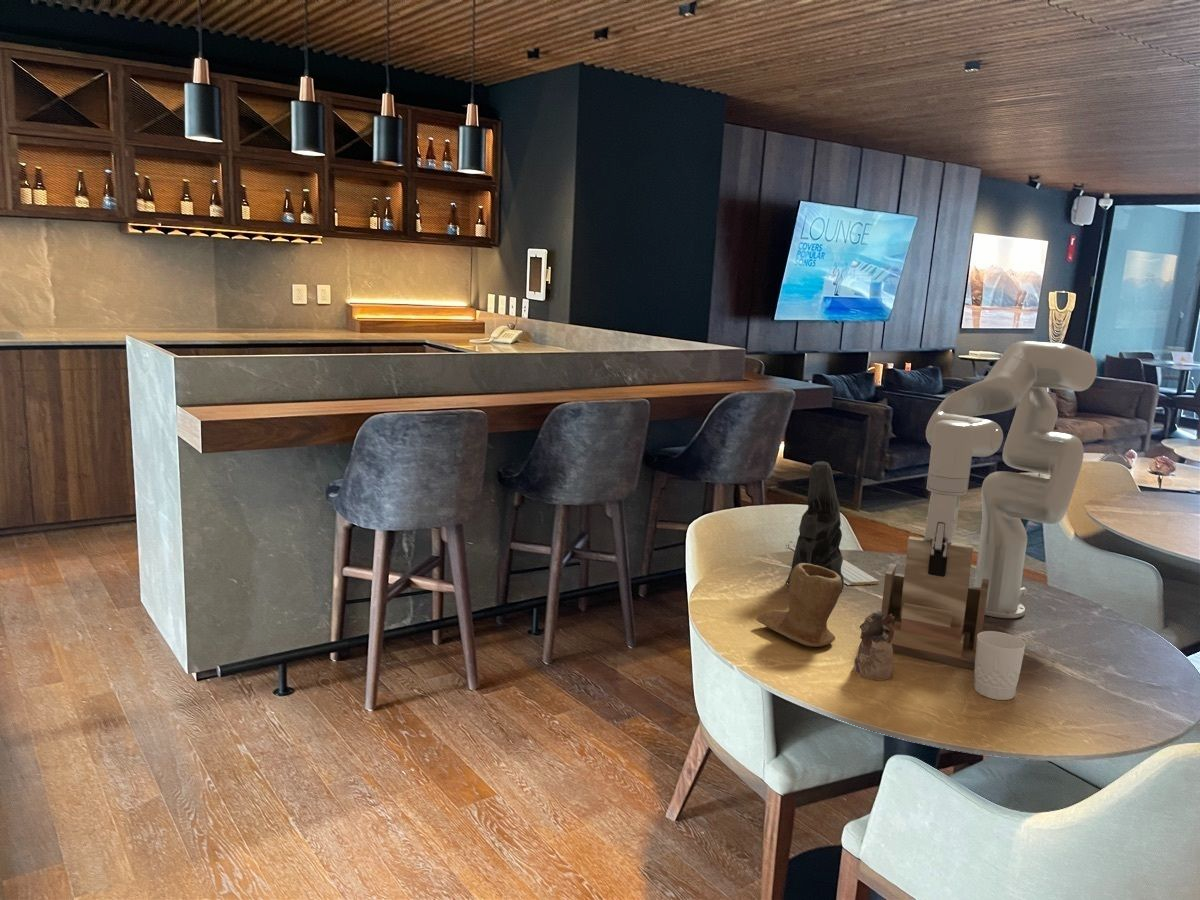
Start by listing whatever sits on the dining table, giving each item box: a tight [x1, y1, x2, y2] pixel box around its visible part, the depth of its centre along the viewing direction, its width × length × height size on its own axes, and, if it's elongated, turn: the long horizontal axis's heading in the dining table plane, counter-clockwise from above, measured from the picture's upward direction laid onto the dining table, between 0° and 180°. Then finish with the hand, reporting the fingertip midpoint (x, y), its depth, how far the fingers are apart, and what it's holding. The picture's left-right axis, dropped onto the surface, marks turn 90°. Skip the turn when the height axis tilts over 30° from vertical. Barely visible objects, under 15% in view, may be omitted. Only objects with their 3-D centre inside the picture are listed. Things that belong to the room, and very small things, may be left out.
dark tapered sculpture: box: [786, 460, 845, 592], centre depth 208 cm, size 14×14×30 cm
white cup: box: [973, 630, 1026, 701], centre depth 157 cm, size 8×8×10 cm
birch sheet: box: [900, 535, 974, 631], centre depth 176 cm, size 2×12×20 cm, turn 64°
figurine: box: [852, 610, 895, 681], centre depth 163 cm, size 7×7×12 cm
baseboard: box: [785, 541, 880, 586], centre depth 226 cm, size 30×3×10 cm
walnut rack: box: [880, 563, 989, 671], centre depth 175 cm, size 14×19×14 cm
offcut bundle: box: [891, 603, 965, 658], centre depth 172 cm, size 5×13×8 cm, turn 64°
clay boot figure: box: [756, 563, 843, 648], centre depth 179 cm, size 15×12×15 cm
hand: (937, 572), depth 175 cm, fingers closed on birch sheet, 2 cm apart
